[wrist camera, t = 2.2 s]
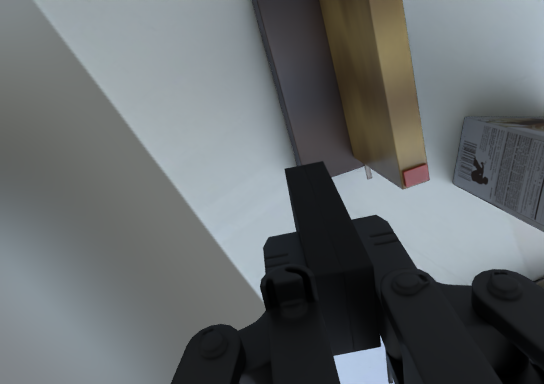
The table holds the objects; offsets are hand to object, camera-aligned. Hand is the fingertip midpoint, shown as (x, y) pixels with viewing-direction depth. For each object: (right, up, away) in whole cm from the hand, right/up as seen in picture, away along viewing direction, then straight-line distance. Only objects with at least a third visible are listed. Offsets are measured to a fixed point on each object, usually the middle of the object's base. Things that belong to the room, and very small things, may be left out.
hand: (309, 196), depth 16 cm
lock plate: (+4, +9, +16) cm, 19 cm away
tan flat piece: (+4, +8, +14) cm, 17 cm away
